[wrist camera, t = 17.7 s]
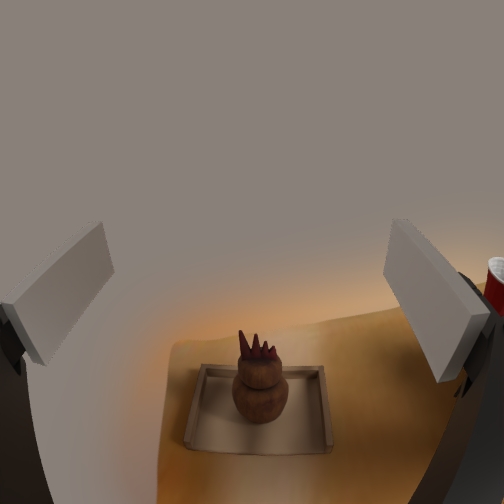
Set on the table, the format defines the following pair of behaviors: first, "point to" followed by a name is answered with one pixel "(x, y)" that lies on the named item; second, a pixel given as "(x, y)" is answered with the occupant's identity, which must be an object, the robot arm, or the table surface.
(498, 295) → the plastic cup
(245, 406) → the wooden figurine
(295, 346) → the table surface
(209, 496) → the table surface
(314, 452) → the tray
